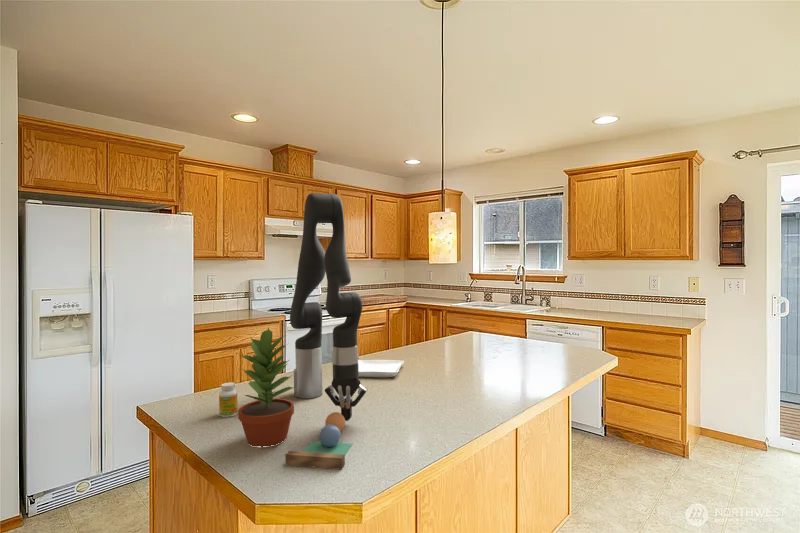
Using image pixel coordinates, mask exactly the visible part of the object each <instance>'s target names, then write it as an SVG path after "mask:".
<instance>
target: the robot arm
mask: <svg viewBox="0 0 800 533" xmlns="http://www.w3.org/2000/svg"><path fill="white" fill-rule="evenodd" d="M318 224H331V226H332V235H331V239H330V241H329V244H328V246H327V248H326V250H325V249H324V247H323V245H322V243H321V242H320V240H319V237H318V235H317V225H318ZM302 228H303V230H302V237H301V238H302V240H301V247H300V251H299V256H298V257H299V258H298V265H297V274H296V282H295V283H296V284H295V289H294V294H293V298H292V302H291V307H290V310H289V311H290V312H289V322H290V326H291V327H292V328H293V329H295V330H302V329H309V331H308V332H307V333H306V334H304V335H302V336H300V337H298V338H297V339H296V340H295V342H294V344H295V345H294V346H295V348H294V349H295V350H294V351H295V368H294V369H293V387H294V388H293V396H294V397H296V398H300V399H315V398H318V397H320V396H322V395H323V362H322V361H323V358H322V356H323V355H322V351H323V350H322V337H323V336H322V335H323V332H322V331H323V308H322V305H321V304H320V303H319V302H316V301H312V302H306V301H307V300H308V298H309V296H310V295H311V294H312V293H313V292H314V291H315V289H316V288H318V287H319V285H320V284H321V283H322V281H323V280H324V278H325V275H326V281H327V284H326V285H327V286H326V287H327V288H326V290H327V291H326V299H325V309H326V312H327V314H328V315H329V316H330V317H331V318H333V319H337V318H339V319H340V318H345V320H344V322H343V323H341V324H338V325H336V326H334V327H333V329H332V353H331V354H332V356H331V358H332V381H331V384H330V385H329V386H328V385H327V387H326V388H325V389H324V392H325V394H326V395H327V397H328V398H329V399H330V401H332V404H334V406H335V407H340V411H341V412H340V414H342V415H343V416H344V419H345V422H346V421H347V422H349V421H350V419H351V418H352V416H353V409H352V408H354V407H356V406H357V405H358V403H359V402H360V401H361V400H362V398H363V397H364V395H365V394H366V393H367V392H368V388H367V387H364V386H363V385H361V380H360V377H359V365H358V360H360V358H359V350H358V349H359V348H358V329H359V324H360V320H361V316H362V312H363V306H364V304H363V300H362V297H361V296H360V294H359V293H357V292H354V291H353V292H340V288H344V287H346V286H348V285H350V284H351V282H352V276H351V275H352V274H351V271H350V267H349V266H350V265H349V262H348V256H347V249H346V248H347V247H346V230H345V228H346V227H345V214H344V205H343V201H342V199H341V197H340V196H339V195H338V194H336V193H325V192H324V193H322V192H321V193H320V192H319V193H318V192H315V193H314V192H313V193H309V194H308V195H307V197H306V199H305V202H304V211H303V227H302ZM295 386H296V387H295ZM357 390H358V391H357ZM356 392H357V394H358V395H357V396H356V397H355V399H354V400H353V398H354V395H355V394H356Z"/></svg>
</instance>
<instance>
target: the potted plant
mask: <svg viewBox="0 0 800 533" xmlns="http://www.w3.org/2000/svg"><path fill="white" fill-rule="evenodd" d="M284 337H285V335H284V336H280V337H279V338H277V339H276V340H275V341H274V342H273V331H272V330H271V329H270V328H269V326H268V328H267V330H264V331H262V333H261V334H260V339H255V338H253V337H250V339H251V343H249V344H250V347H251V349H252V351H253V353H254V354H253V355H246V354H245V355H242V354H239V356H240V357H242V358H244V359H245V360H246V361H247V360H248V361H249V362H251V363H252V364H251V367H252V370H251V369H246V370H245V369H243V368H242V369H241V370H242V371H243V372H244V373H245V374H246V375H247V376H249V377H250V378H251V379H252V380H250V379H249V380H248V381H249V382H248V385H249V386H250V387H251V388H252V389H253V390H254V391H255V393H257V396H258V397H257V396H254V395H249V394H245V395H244V394H243V396H245V397H248V398H251V399H254V401H251V402H247V403H245V404H244V405H242V406H240V407H238V413H237V414H238V415H237V416H238V420H239V422H240V423H241V425H242V430H243V433H244V435H245V436H244V437H245V438H246V442H247V445H249V444H250V445H252V446H261V447H263V446H271V445H276V444H278V443H281V442H282V441H284V440H285V439H286V440H287V437H288V435H289V434H288V433H289V429H290V425H291V420H292V415H294V414H295V406H294V405H295V403H294V402H293V401H292V400H290V399H285V398H275V397H277V396H279V395H282V394H283V393H284V394H285V393H287V392H288V391H290V390H292V389H294V386H287V387H283V388H281V389H279V390H277V391H276V390H275V389H276V388H278V387H279V386H280V385H282V384H284V383H285V382H286V381H288V380H289V379H290V378H291V377H292V375H290V376H283V377H280V378H278V379H277V380H276V381H274V380H275V378H276V376H277V375H278V374H280V373H281V372H282V371H283V370H284V369H285V368H286V367H287V365H288V362H289V361H290V359H288V360H283V358H284V355H283V354H281V355H279V356H278V357H276V358H275V359H274V360H273V358H274V357H275V356H277V355H278V354H279V353H280V352H281V351H282V350H283V349H285V348H286V346H287V345H289V343H287V344H284V345H281V346H279V347H277V346H278V345H279V343H280V342H281V341H282V340H283V338H284ZM276 347H277V349H276ZM273 350H274V351H273ZM282 360H283V361H282ZM253 380H254V381H253ZM295 387H296V386H295ZM274 390H275V391H274ZM286 440H285V441H286ZM285 441H284V442H285ZM282 443H283V442H282ZM282 443H281V444H282ZM250 445H249V446H250ZM278 445H279V444H278ZM252 446H251V447H252ZM276 446H277V445H276Z"/></svg>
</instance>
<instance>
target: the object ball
mask: <svg viewBox="0 0 800 533" xmlns="http://www.w3.org/2000/svg"><path fill="white" fill-rule="evenodd" d="M341 436H342V435H341V431H340V430H339V429H338V427H336V426H335V425H331V424H330V425H324V426H323V427H322V428H321V429H320V431H319V435H318V437H319V442H321V443H322V445H324V446H326V447H333V446H335V445H336V444H337V443H340V440H341Z"/></svg>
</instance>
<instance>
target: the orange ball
mask: <svg viewBox="0 0 800 533" xmlns="http://www.w3.org/2000/svg"><path fill="white" fill-rule="evenodd" d="M324 424H325V425H324V426H326V425H330V424H331V425H335V426H336V427H338V429H339V430H340V432H341V431H342V430H344V428H345V426H346V421H345V419H344V416H343V415H342V414H341V412H336V411H334V412H331V413H329V414H328V415H327V416H326V419H325V423H324Z"/></svg>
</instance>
